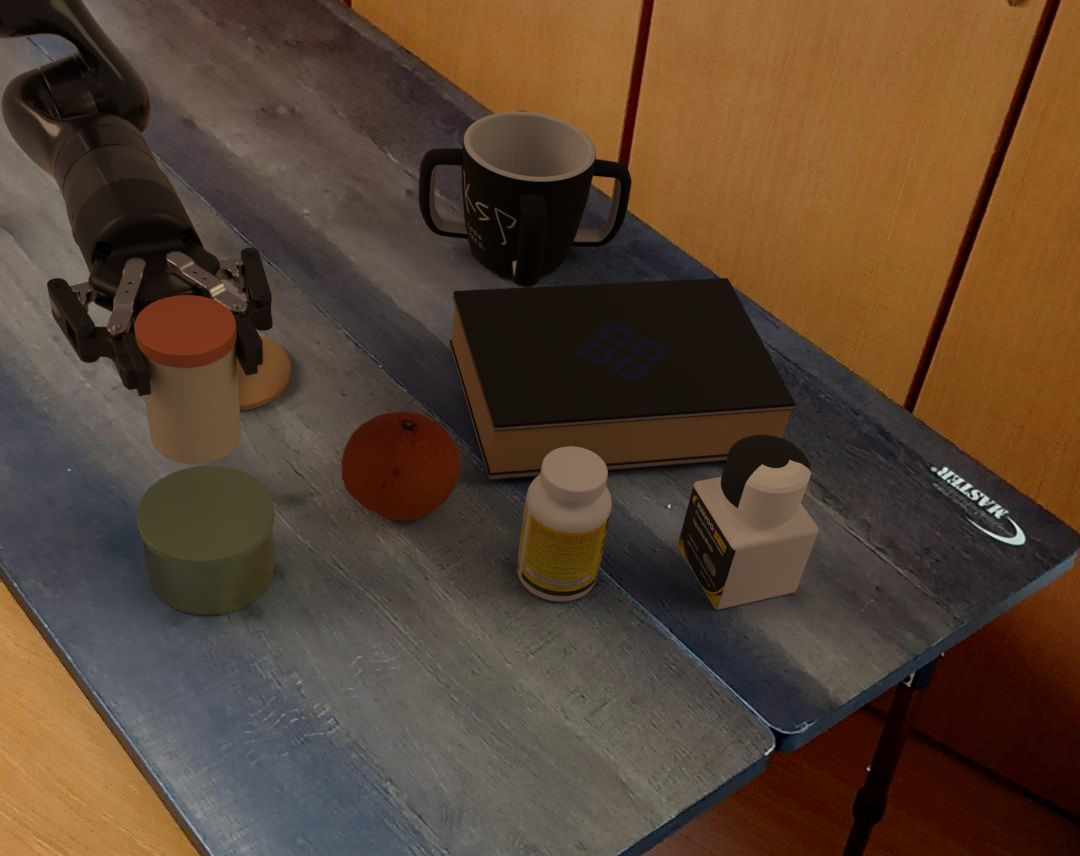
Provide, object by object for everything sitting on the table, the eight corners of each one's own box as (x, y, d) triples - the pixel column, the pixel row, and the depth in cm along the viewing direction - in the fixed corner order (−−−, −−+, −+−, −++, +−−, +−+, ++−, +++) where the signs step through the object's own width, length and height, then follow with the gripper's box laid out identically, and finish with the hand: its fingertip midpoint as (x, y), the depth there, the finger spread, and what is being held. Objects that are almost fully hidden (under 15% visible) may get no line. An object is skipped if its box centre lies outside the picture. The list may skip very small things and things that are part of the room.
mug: (400, 239, 128) (405, 126, 119) (524, 191, 136) (536, 83, 128) (509, 325, 121) (522, 212, 112) (633, 270, 129) (654, 160, 120)
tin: (150, 626, 92) (141, 569, 88) (140, 531, 98) (131, 472, 94) (285, 608, 95) (283, 551, 90) (267, 516, 101) (264, 458, 97)
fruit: (474, 481, 106) (481, 406, 100) (426, 553, 100) (431, 477, 94) (375, 445, 108) (377, 369, 102) (322, 514, 102) (321, 436, 96)
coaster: (176, 417, 107) (175, 412, 107) (165, 341, 114) (164, 335, 113) (299, 405, 110) (299, 400, 109) (282, 331, 116) (282, 326, 116)
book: (448, 351, 117) (453, 290, 112) (712, 336, 123) (727, 277, 118) (487, 487, 106) (494, 425, 101) (776, 463, 111) (796, 403, 107)
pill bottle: (609, 595, 99) (633, 490, 91) (533, 613, 97) (551, 507, 89) (578, 537, 103) (598, 431, 95) (504, 553, 101) (518, 446, 93)
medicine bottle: (675, 545, 103) (705, 431, 95) (755, 528, 106) (792, 415, 97) (714, 612, 99) (750, 499, 90) (797, 593, 101) (839, 481, 93)
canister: (152, 469, 84) (138, 359, 78) (145, 408, 88) (131, 298, 82) (248, 460, 86) (241, 350, 79) (236, 400, 90) (229, 291, 83)
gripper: (11, 191, 85) (69, 347, 75) (231, 161, 90) (312, 303, 81) (30, 287, 90) (86, 445, 80) (236, 254, 96) (313, 397, 86)
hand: (199, 373), depth 81 cm, fingers closed on canister, 6 cm apart
